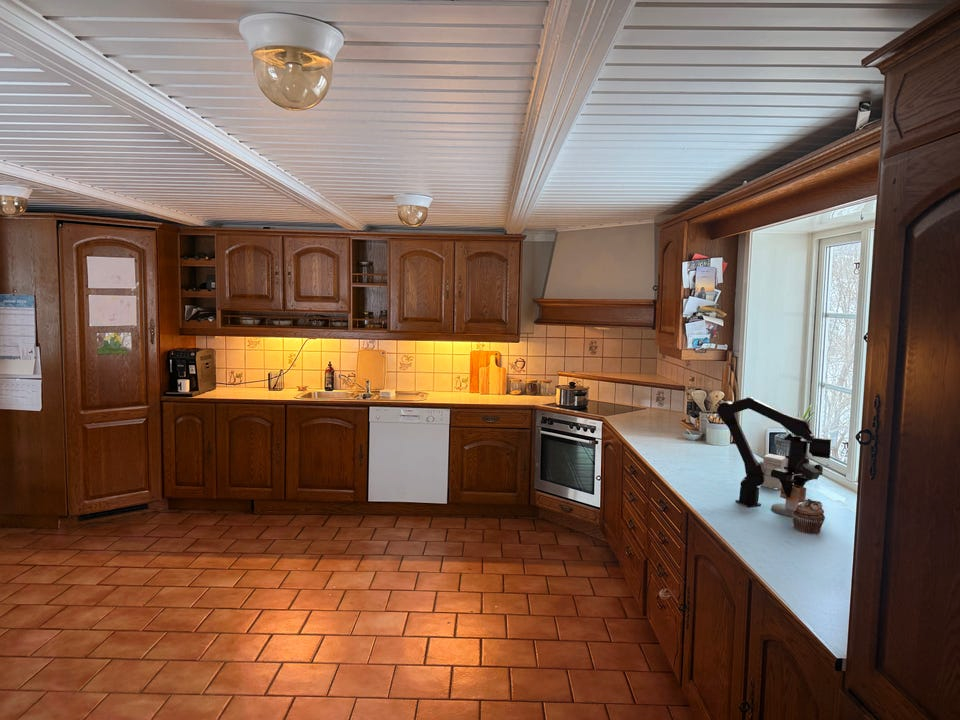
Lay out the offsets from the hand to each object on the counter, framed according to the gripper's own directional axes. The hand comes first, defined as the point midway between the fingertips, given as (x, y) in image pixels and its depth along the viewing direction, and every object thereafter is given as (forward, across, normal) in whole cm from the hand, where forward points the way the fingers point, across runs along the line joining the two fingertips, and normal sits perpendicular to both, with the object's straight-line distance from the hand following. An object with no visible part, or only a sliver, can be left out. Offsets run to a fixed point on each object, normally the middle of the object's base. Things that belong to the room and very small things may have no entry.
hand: (792, 496), depth 235 cm
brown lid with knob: (+6, 0, 0) cm, 6 cm away
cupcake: (+6, -12, -15) cm, 20 cm away
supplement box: (+6, +22, +26) cm, 35 cm away
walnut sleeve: (+1, 0, 0) cm, 1 cm away
